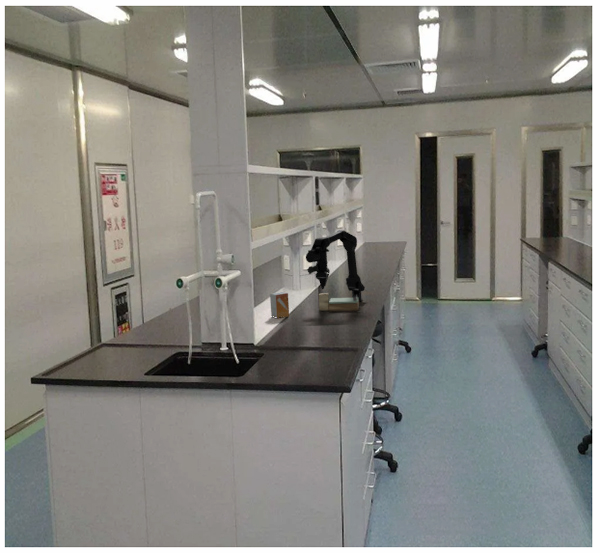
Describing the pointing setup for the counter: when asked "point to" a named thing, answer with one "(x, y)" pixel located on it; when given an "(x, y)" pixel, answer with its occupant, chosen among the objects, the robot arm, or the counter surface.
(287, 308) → the small box
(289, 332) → the counter surface
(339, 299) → the lid
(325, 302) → the brown wooden block
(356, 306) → the open wooden tray
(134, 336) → the counter surface
